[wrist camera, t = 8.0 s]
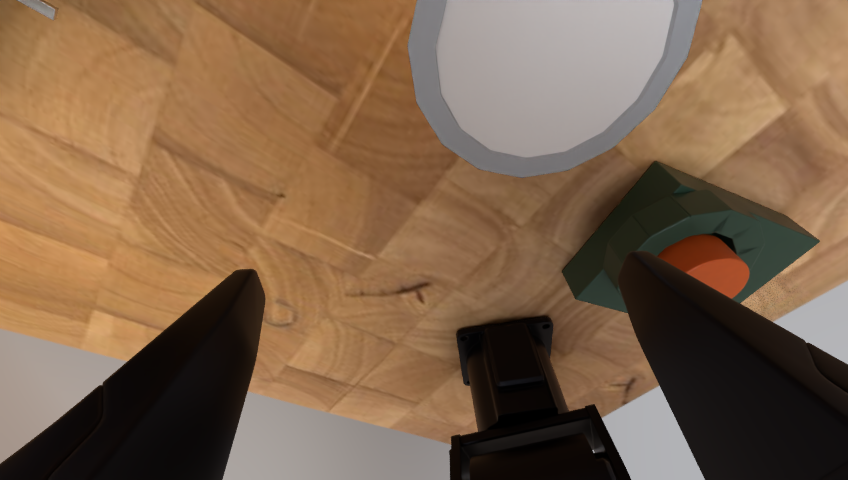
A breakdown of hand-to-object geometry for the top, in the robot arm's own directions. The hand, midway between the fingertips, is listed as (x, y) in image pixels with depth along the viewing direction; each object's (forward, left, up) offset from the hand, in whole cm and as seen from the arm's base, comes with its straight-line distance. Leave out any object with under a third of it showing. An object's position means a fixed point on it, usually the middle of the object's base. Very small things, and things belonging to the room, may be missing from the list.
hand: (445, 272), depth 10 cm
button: (-8, -11, -6) cm, 15 cm away
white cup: (+4, -3, -10) cm, 11 cm away
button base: (-10, -13, -10) cm, 19 cm away
